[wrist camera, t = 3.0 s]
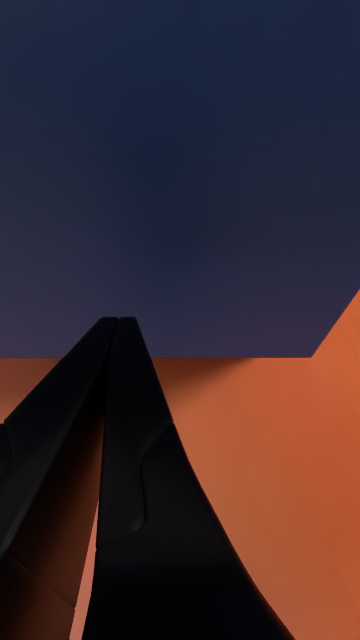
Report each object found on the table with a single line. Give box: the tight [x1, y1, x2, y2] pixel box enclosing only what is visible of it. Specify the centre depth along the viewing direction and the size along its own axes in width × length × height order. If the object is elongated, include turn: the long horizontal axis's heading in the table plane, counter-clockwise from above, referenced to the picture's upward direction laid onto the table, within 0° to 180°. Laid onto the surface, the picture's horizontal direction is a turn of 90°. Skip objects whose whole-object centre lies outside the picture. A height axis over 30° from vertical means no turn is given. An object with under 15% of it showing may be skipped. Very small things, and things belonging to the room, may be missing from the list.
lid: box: [0, 0, 360, 358], centre depth 10 cm, size 12×15×1 cm
